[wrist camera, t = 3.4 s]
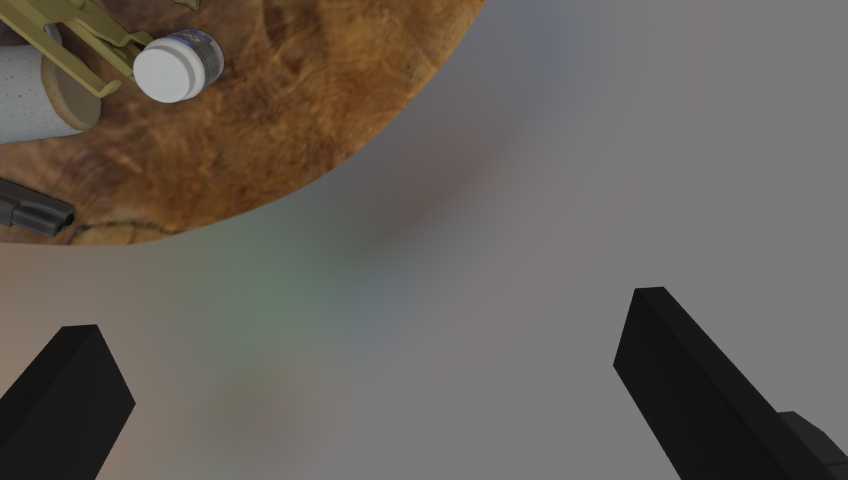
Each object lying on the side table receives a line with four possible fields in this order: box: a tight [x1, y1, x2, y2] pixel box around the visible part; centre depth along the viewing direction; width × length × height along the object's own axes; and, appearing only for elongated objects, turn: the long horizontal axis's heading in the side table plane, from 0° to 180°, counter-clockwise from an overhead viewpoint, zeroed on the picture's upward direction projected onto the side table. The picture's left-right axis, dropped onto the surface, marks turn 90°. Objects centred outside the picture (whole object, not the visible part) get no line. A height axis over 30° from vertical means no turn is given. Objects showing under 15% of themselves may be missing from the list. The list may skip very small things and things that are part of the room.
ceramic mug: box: [0, 23, 101, 144], centre depth 37 cm, size 11×8×8 cm
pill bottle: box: [133, 29, 224, 103], centre depth 38 cm, size 5×5×8 cm
